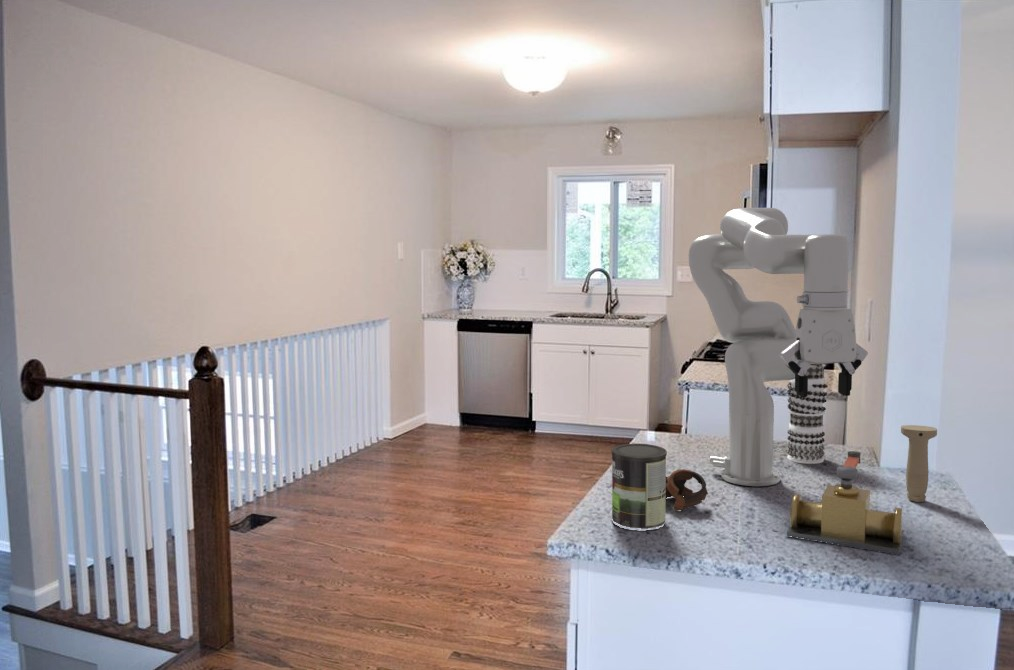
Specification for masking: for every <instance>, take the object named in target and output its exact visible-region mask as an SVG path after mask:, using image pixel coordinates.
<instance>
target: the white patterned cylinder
mask: <svg viewBox="0 0 1014 670" xmlns="http://www.w3.org/2000/svg"><path fill="white" fill-rule="evenodd" d="M825 367H826V364H825V363H821V364H812V363H811V365H810V366H809V368H808V370H807V371H806V373H805V376H807V377H808V396H807V397H801V396H799V395H797V394H796V391H795V379H793V380H789V382H788V383H787V384H786V386H787V388H788V389H787V392H786V393H787V395H788V396H789V397H788V398H787V402H788V404H787V409H788V411H787V412H788V413H789V415H790V416H789V423H788V428H789V429H788V430H787V434H788V436H787V440H788V442H787V445H786V447H787V451H786V453H787V454H788V455H787V458H786V459H787V460H789V461H790V462H793V463H798V464H806V465H807V464H808V465H813V464H814V465H815V464H821V463H824V462H825V458H824V456H825V451H824V450H825V449H826V448H825V444H823V443H824V442H825V438H824V437H825V435H826V434H825V432H824V415H825V414H826V410H827V408H826V407H825V406H824V405H823V404H825V403H826V402H828V401H827V399H825V397H826V396H828V393H827V392H825V391H824V389H826V388H828V385H827V384H826V381H825V380H826V378H825Z"/></svg>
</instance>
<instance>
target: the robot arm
mask: <svg viewBox="0 0 1014 670" xmlns="http://www.w3.org/2000/svg"><path fill="white" fill-rule="evenodd" d="M719 226H720V227H719V228H720V229H719V230H720V233H715V234H708V235H707V234H706V235H702V236H700V237H698V238H696V239H694V241H692V242H691V244H690V246H689V249H688V266H689V270H690V273H691V277H692V279H693V281H694V282H695V284H696V286H697V288H698V289H699V291H700V292H701V293H702V294H703V297H704V298H705V299H706V302H707V304H708V308H709V310H710V312H711V315H712V317H713V320H714V322H715V324H716V327H717V329H718V332H719V333H720V336H721V337H722V338H723V340H725V341H726V342H728V343H731V344H730V345H729V346H728V347H727V349H726V351H725V354H724V363H725V364H724V365H725V368H726V370H725V371H726V376H727V382H728V383H727V384H728V456H724V457H720V456H713V455H711V456H710V458H709V464H710V465H712V467H715V468H716V467H717V468H722V469H723V470H722V471H721V474H720V476H721V479H722V480H724V481H725V482H728V483H731V484H734V485H740V486H745V487H746V486H747V487H769V486H774V485H777V484H778V483H779V482H780V481H781V476H780V474H779V473H778V472H777V471H775V470H774V469H773V468H774V427H775V426H774V423H775V422H774V420H775V417H774V416H775V409H774V408H775V406H774V405H775V403H774V400H773V397H772V395H771V393H770V392H769V390H768V389H767V388H766V386H765V384H764V383H766V382H769V383H770V382H779V381H790V380H793V379H795V391H796V394H797V395H799V396H801V397H807V396H808V377H807V376H805V373H806V371H807V370H808V368H809V366H810V365H811V363H812V364H821V363H823V364H838V365H837V366H838V367H839V368H840V370H841V372H839V373H838V374H837V375H838V377H837V378H838V382H837V386H838V387H837V392H838V394H839V395H843V396H846V397H849V396H850V395H851V390H852V386H853V383H852V382H853V381H852V380H853V375H855V373H856V370H858V368H859V367H860V366H861V365H862V363H863V361H864V360H865V359H866V358H867V356H868V355H869V352H868V351H867V350H866V349H865V348H864V347H862V346H861V345H859V344H858V343H857V337H856V326H855V325H856V324H855V318H854V314H853V310H852V308H848V285H849V283H848V281H849V278H848V277H849V253H850V252H849V247H850V245H849V243H850V242H849V239H848V237H847V236H846V235H844V234H839V233H838V234H835V233H834V234H833V233H830V234H827V233H826V234H788V231H789V222H788V219H787V217H786V215H785V213H784V212H783V211H782V210H780V209H778V208H775V207H740V208H734V209H732V210H729V211H728V212H727V213H725V214H724V216H723V217H722V218H721V221H720V225H719ZM751 269H756V270H758V271H761V272H763V273H765V274H769V275H784V274H785V275H787V274H788V275H791V274H793V275H795V274H796V275H797V274H803V292H802V295H797V297H796V302H797V303H798V304H802V307H803V308H800V309H799V311H798V317H797V321H796V327H795V326H794V324H793V321H792V320H791V318H790V315H789V313H788V311H787V310H786V309H785V307H783V306H782V304H779V302H775V301H769V300H767V301H764V300H763V301H753V300H749V299H748V298H747V297H746V294H745V292H744V290H743V288H742V285H741V284H740V283H739V282H738V281H737V280H736V279H735V278H734V277H733V276H731V275H730V274H728V273H727V272H725V271H724V270H751Z"/></svg>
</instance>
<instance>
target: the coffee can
mask: <svg viewBox="0 0 1014 670" xmlns="http://www.w3.org/2000/svg"><path fill="white" fill-rule="evenodd" d="M610 451H611V455H612V456H611V475H612V478H611V479H612V480H611V487H612V488H611V489H612V490H611V491H612V493H611V496H612V497H611V498H612V499H611V500H612V501H611V505H612V506H611V509H612V510H611V511H612V513H611V520H612V519H613V521H614V522H616V523H618V524H620V525H622V526H626V527H630V528H641V529H648V528H656V527H659V526H662V525H663V524H664V523H665V521H666V502H667V501H666V477H667V475H666V474H667V465H666V464H667V453H668V452H667V450H666V448H664V447H662V446H658V445H656V444H655V445H654V444H650V443H649V444H647V443H624V444H619V445H616V446H613V447H612V448H611V450H610Z"/></svg>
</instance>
